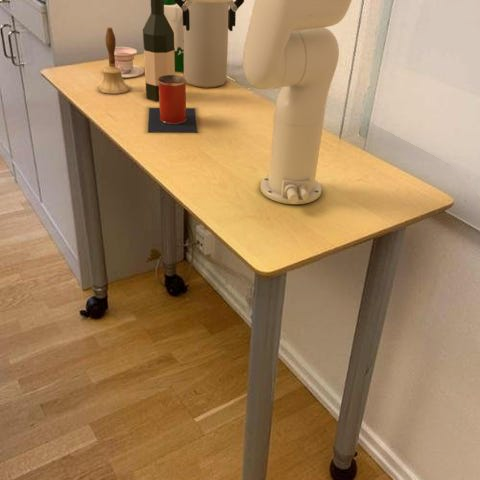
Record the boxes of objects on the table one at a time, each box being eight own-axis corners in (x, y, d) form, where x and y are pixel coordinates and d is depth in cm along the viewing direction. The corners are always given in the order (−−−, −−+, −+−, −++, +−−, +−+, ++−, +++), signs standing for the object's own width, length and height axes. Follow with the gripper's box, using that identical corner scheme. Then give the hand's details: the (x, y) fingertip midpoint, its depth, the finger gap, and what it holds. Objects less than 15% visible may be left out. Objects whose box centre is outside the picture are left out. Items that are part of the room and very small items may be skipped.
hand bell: (126, 83, 167) (121, 23, 157) (131, 93, 161) (127, 31, 151) (96, 85, 165) (90, 24, 155) (101, 95, 159) (94, 32, 149)
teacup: (152, 71, 177) (151, 50, 173) (126, 81, 169) (124, 59, 165) (121, 63, 181) (120, 42, 177) (95, 73, 173) (92, 51, 169)
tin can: (186, 125, 146) (186, 84, 139) (159, 124, 145) (158, 83, 139) (186, 114, 151) (185, 75, 145) (159, 114, 150) (158, 74, 144)
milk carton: (167, 62, 184) (165, -9, 172) (195, 65, 183) (194, -6, 171) (158, 70, 178) (155, -3, 165) (187, 74, 177) (186, 0, 164)
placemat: (197, 132, 143) (197, 132, 142) (147, 132, 141) (147, 132, 141) (194, 108, 155) (194, 108, 155) (149, 108, 154) (149, 107, 153)
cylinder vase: (190, 72, 178) (190, -21, 162) (230, 77, 176) (233, -16, 160) (178, 85, 168) (177, -12, 152) (220, 90, 167) (223, -7, 151)
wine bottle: (181, 98, 160) (179, -26, 141) (154, 103, 156) (148, -24, 137) (166, 89, 165) (163, -32, 146) (140, 93, 161) (132, -30, 142)
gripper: (167, -59, 117) (171, 33, 128) (252, -57, 119) (249, 34, 130) (166, -63, 123) (170, 25, 133) (248, -61, 125) (244, 26, 135)
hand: (209, 29), depth 131 cm, fingers open, 9 cm apart
